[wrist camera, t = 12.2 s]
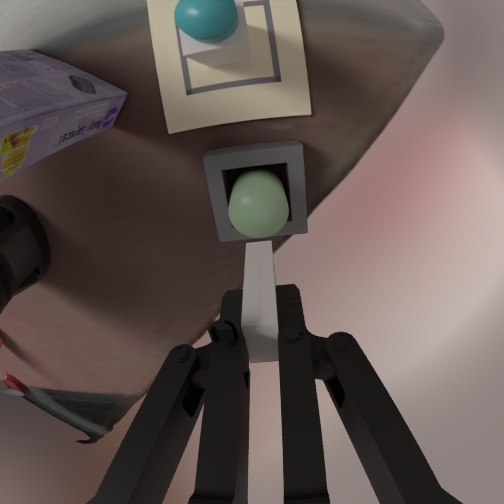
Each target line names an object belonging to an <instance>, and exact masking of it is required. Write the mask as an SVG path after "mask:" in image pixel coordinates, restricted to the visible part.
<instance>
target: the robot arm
mask: <svg viewBox="0 0 504 504" xmlns="http://www.w3.org/2000/svg"><path fill="white" fill-rule="evenodd" d="M49 264H50V252H49V246H48V242H47V239H46V236H45V234H44V231H43V229H42V227H41V225H40V223H39V222H38V220H37V219H36V217H35V216H34V214H33V213H32V212H31V210H30V209H29V208H28V207H27V206H26V205H25V204H24V203H22V202H21V201H20V200H18V199H17V198H15V197H12V196H8V195H4V196H0V314H1V312H2V311H3V310H4V308H5V307H6V305H7V304H8V302H9V301H10V300H11V299H12V297H13V296H15V295H17V294H19V293H20V292H22V291H24V290H25V289H27V288H29V287H31V286H32V285H34V284H36V283H37V282H38V281H39V280H40V279H41V278H42V277H43V275H44V274H45V273H46V272H47V270H48V268H49ZM221 305H222V306H221V312H220V319H219V320H217V321H215V322H213V323H212V324H211V325H210V327H209V329H208V332H209V335H210V337H211V340H212V342H211V343H209V344H208V345H205V346H203V347H199V348H196V349H194V348H193V347H192V346H190V345H187V344H182V345H178V346H176V347H175V348H173V349H172V350H171V351H170V352H169V354H168V356H167V358H166V360H165V361H164V363H163V365H162V367H161V369H160V371H159V373H158V374H157V376H156V378H155V380H154V382H153V384H152V386H151V387H150V389H149V391H148V393H147V395H146V397H145V399H144V401H143V402H142V404H141V406H140V409H139V410H138V412H137V414H136V416H135V418H134V420H133V422H132V423H131V426H130V427H129V429H128V431H127V433H126V435H125V437H124V439H123V441H122V443H121V445H120V447H119V449H118V451H117V453H116V455H115V457H114V459H113V461H112V463H111V465H110V467H109V469H108V471H107V473H106V475H105V477H104V479H103V481H102V483H101V485H100V487H99V489H98V491H97V493H96V495H95V496H94V497H93V498H92V499H91V500H90V501H89V502H87V503H86V504H162V502H163V500H164V497H165V495H166V493H167V490H168V488H169V485H170V483H171V481H172V479H173V476H174V474H175V471H176V469H177V467H178V464H179V462H180V460H181V457H182V455H183V452H184V450H185V448H186V445H187V443H188V441H189V438H190V435H191V433H192V431H193V428H194V426H195V424H196V421H197V419H198V416H199V414H200V411H201V409H202V406H203V404H204V410H203V418H202V426H201V435H200V443H199V452H198V462H197V472H196V481H195V490H194V493H193V495H192V496H191V497H190V499H189V502H188V504H248V497H247V496H248V453H249V451H248V450H249V406H250V405H249V403H250V370H249V361H250V363H258V362H271V361H279V373H280V395H281V416H282V444H283V475H284V476H283V477H284V504H330V499H329V494H328V491H327V483H326V471H325V461H324V451H323V441H322V432H321V424H320V415H319V407H318V400H317V392H316V385H315V379H321V380H323V382H324V384H325V386H326V388H327V390H328V392H329V394H330V397H331V399H332V401H333V403H334V405H335V407H336V409H337V412H338V414H339V416H340V418H341V420H342V422H343V424H344V426H345V429H346V431H347V433H348V435H349V437H350V439H351V441H352V444H353V446H354V448H355V450H356V452H357V455H358V457H359V459H360V461H361V463H362V465H363V468H364V470H365V472H366V474H367V476H368V478H369V480H370V483H371V485H372V487H373V489H374V492H375V494H376V496H377V498H378V500H379V503H380V504H463V503H461V502H460V501H458V500H457V499H456V498H454V497H453V496H451V495H450V494H449V493H448V492H446V491H445V490H444V489H442V488H441V487H440V485H439V483H438V481H437V479H436V477H435V475H434V473H433V471H432V469H431V467H430V466H429V464H428V462H427V460H426V458H425V456H424V454H423V453H422V451H421V449H420V447H419V446H418V444H417V442H416V440H415V438H414V436H413V435H412V433H411V431H410V430H409V428H408V426H407V424H406V422H405V421H404V419H403V417H402V416H401V414H400V412H399V410H398V408H397V407H396V405H395V404H394V402H393V400H392V398H391V397H390V395H389V393H388V392H387V390H386V388H385V387H384V385H383V383H382V382H381V380H380V378H379V377H378V375H377V374H376V372H375V370H374V368H373V367H372V365H371V364H370V362H369V361H368V359H367V357H366V355H365V354H364V352H363V351H362V349H361V348H360V346H359V344H358V343H357V341H356V340H355V338H353V336H352V335H351V334H348V333H346V332H336V333H333V334H331V335H330V336H329V337H328V338H325V337H319V336H315V335H313V334H311V333H310V332H309V331H308V330H307V328H306V326H305V320H304V314H303V308H302V302H301V296H300V291H299V289H298V288H297V286H296V285H295V284H288V285H277V286H276V282H275V271H274V261H273V251H272V242H271V241H261V242H252V243H246V254H245V270H244V286H243V289H240V290H228V291H227V292H226V293H225V295H224V296H223V297H222V304H221Z"/></svg>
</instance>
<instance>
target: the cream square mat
mask: <svg viewBox="0 0 504 504" xmlns="http://www.w3.org/2000/svg"><path fill="white" fill-rule="evenodd" d="M176 2H179V0H147V4H148V13H149V21H150V29H151V36H152V43H153V50H154V56H155V62H156V69H157V75H158V80H159V86H160V92H161V97H162V103H163V108H164V113H165V118H166V123H167V128H168V133H169V134H172V133H176V132H181V131H186V130H191V129H196V128H201V127H207V126H213V125H219V124H225V123H232V122H239V121H246V120H255V119H263V118H273V117H285V116H298V115H311V105H310V95H309V85H308V77H307V69H306V61H305V53H304V46H303V39H302V33H301V27H300V20H299V15H298V9H297V3H296V0H243V5H244V11H245V17H246V23H247V29H248V36H249V42H250V50H251V58H252V61H247V62H239V63H232V64H226V65H220V66H214V67H207V66H205V65H203V64H201V63H198V62H196V61H194V60H192V59H189V58H187V57H185V56H183V52H182V46H181V39H180V33H179V27H178V26H177V24H176V22H175V19H174V11H175V7H176V4H175V3H176Z"/></svg>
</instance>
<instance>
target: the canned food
mask: <svg viewBox="0 0 504 504" xmlns="http://www.w3.org/2000/svg"><path fill="white" fill-rule="evenodd" d="M4 382H5V383H6V384H7V385H8V386H9V387H10V388H11V389H7V390H4V391H1V393H6V394H12V395H18V396H24V395H25V392H26V390H27V388H26V387H25V386H24V385H23V384H22V383H21V382H20V381H19V380H18V379H16V378H15V377H13V376H12V375H10V374H7V375H6V377H5V379H4Z"/></svg>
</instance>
